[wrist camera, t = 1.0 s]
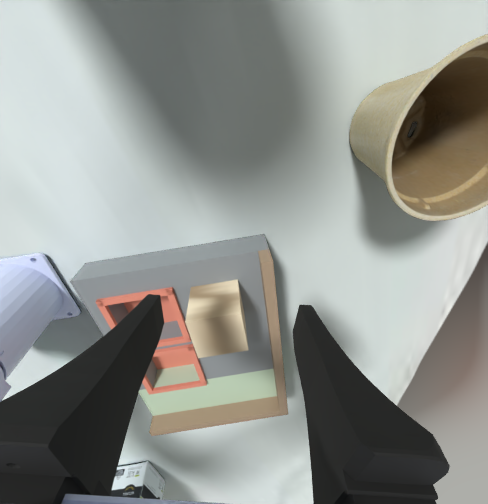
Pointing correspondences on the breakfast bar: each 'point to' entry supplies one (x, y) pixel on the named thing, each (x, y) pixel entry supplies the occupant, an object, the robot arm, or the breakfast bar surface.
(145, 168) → the breakfast bar surface
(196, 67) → the breakfast bar surface
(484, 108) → the flower pot
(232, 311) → the maple block
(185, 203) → the breakfast bar surface
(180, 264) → the box
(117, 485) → the tea box
